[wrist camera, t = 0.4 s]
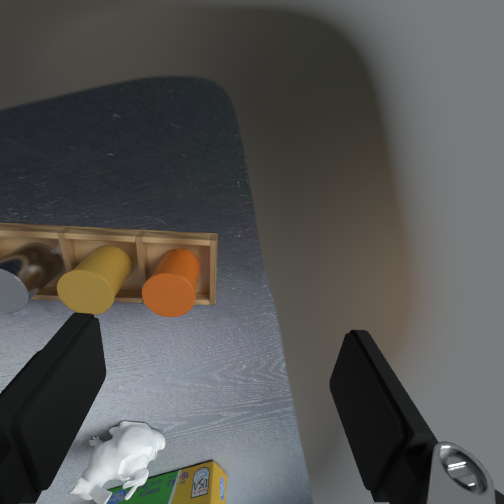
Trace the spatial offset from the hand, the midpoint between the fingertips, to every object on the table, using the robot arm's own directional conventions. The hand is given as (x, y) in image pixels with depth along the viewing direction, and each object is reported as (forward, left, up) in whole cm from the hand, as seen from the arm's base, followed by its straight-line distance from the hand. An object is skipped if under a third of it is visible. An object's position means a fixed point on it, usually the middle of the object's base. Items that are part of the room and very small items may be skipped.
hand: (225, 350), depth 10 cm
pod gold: (+6, -12, -18) cm, 23 cm away
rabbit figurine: (+34, -14, -19) cm, 41 cm away
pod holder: (+6, -12, -18) cm, 23 cm away
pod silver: (+6, -19, -18) cm, 27 cm away
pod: (+6, -5, -18) cm, 20 cm away
